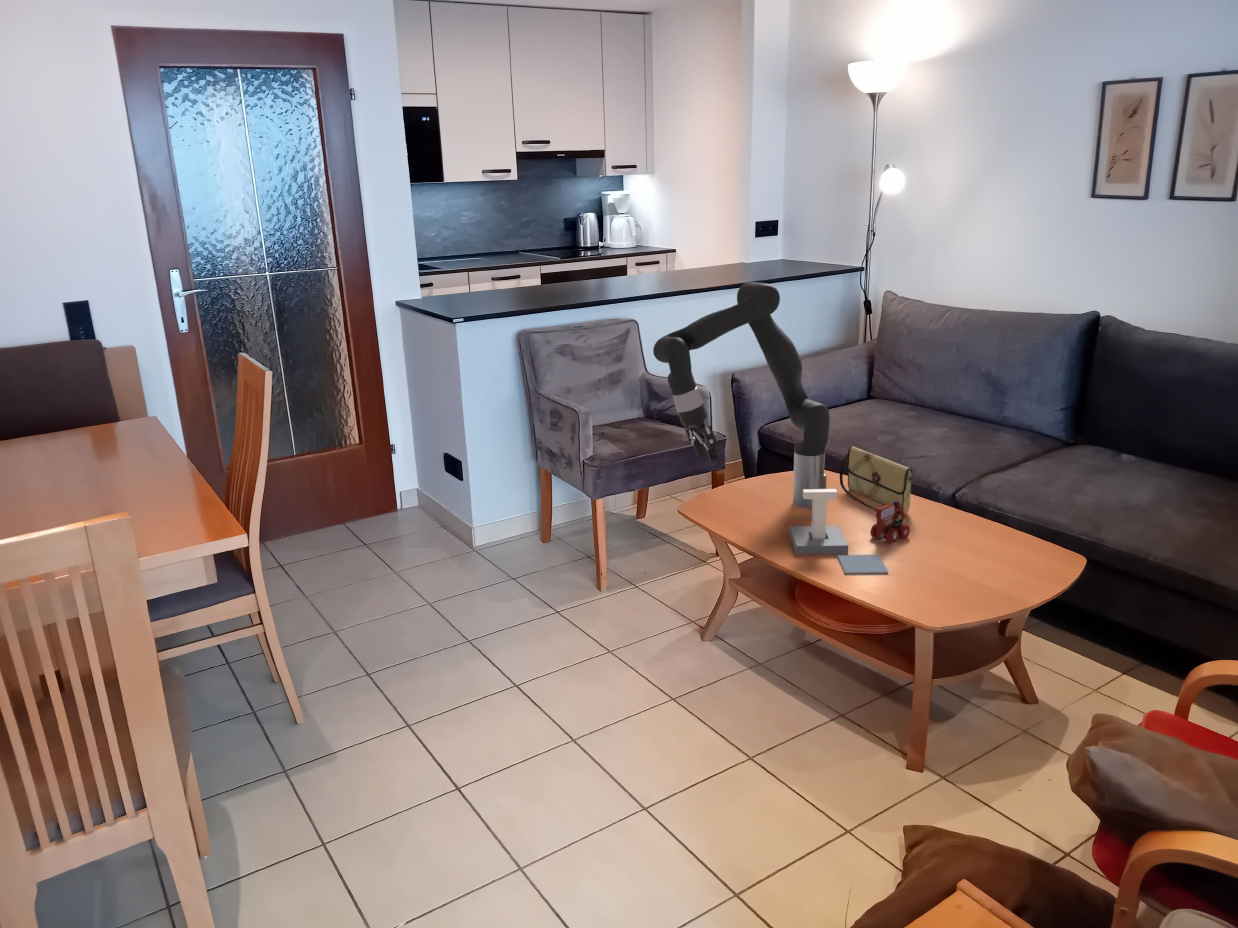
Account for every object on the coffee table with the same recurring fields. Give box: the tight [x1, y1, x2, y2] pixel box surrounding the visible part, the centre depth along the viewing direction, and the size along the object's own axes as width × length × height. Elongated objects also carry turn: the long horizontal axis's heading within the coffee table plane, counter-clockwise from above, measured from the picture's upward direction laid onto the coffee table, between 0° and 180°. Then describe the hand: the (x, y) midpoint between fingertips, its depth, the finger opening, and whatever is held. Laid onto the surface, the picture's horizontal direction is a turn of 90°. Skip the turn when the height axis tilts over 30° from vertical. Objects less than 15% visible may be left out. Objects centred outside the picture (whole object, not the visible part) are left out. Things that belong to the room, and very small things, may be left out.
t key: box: [803, 488, 838, 539], centre depth 245 cm, size 9×3×16 cm, turn 87°
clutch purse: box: [839, 445, 913, 515], centre depth 273 cm, size 30×7×15 cm, turn 25°
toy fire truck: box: [870, 501, 911, 545], centre depth 248 cm, size 7×12×10 cm, turn 128°
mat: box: [837, 553, 889, 575], centre depth 233 cm, size 11×11×1 cm
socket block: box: [789, 525, 849, 556], centre depth 247 cm, size 14×14×2 cm
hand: (708, 458), depth 247 cm, fingers open, 8 cm apart
